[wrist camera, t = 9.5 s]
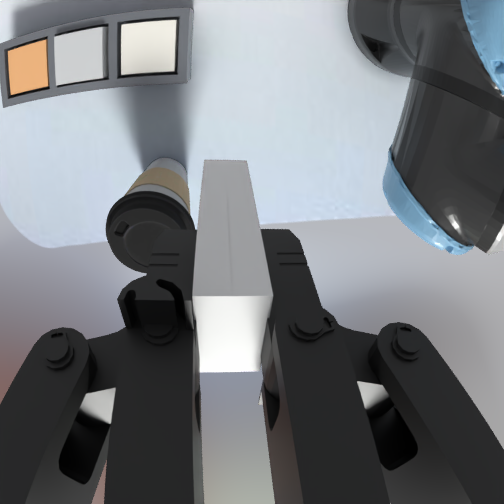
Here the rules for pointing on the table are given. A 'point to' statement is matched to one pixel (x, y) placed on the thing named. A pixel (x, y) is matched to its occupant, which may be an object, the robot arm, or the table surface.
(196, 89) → the table surface
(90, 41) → the key grey
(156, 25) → the key cream
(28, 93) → the keypad
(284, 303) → the robot arm
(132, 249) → the coffee cup
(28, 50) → the key orange
